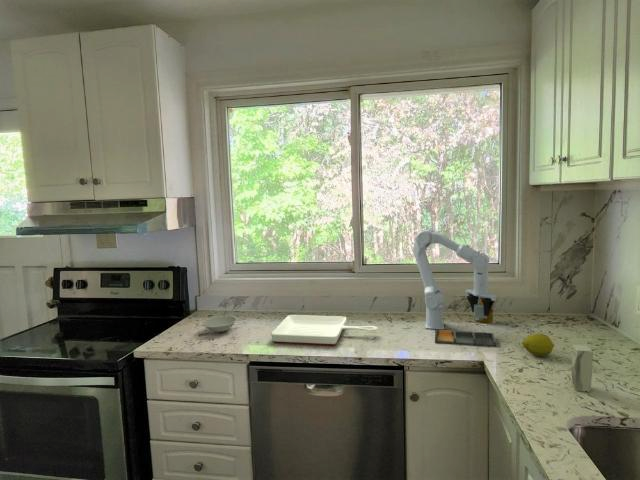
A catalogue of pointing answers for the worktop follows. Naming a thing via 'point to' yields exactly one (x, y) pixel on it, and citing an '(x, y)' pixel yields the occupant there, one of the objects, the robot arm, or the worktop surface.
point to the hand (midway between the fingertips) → (480, 313)
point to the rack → (465, 338)
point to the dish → (220, 323)
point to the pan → (312, 330)
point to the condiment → (489, 318)
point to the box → (582, 368)
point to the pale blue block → (479, 311)
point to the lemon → (538, 344)
